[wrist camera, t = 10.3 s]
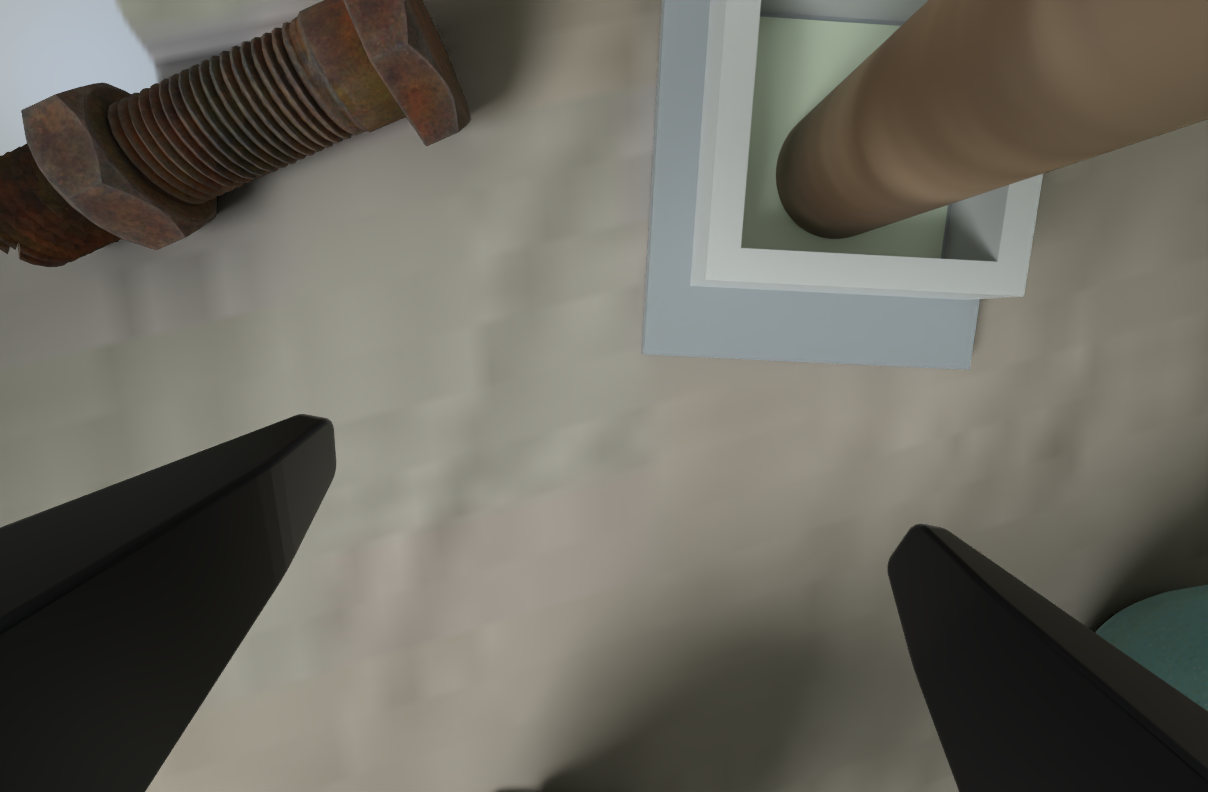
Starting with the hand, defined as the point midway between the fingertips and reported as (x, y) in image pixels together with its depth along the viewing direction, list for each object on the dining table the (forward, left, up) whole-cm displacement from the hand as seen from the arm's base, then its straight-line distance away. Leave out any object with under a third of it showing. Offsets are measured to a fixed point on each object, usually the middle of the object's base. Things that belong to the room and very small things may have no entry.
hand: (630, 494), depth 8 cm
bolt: (+8, +13, -12) cm, 20 cm away
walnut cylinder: (+8, -8, -11) cm, 15 cm away
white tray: (+8, -7, -12) cm, 16 cm away
